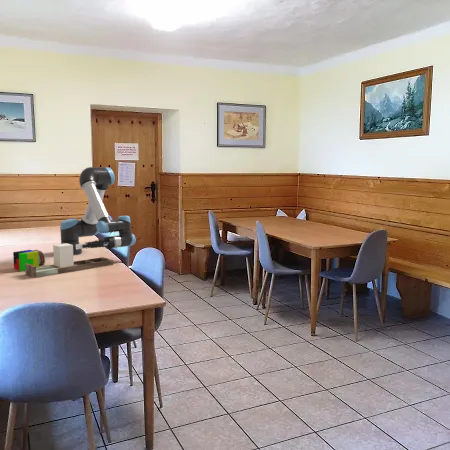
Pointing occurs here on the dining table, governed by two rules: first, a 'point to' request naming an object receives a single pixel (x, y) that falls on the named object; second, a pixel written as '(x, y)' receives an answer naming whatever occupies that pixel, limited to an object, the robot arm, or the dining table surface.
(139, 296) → the dining table surface
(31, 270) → the trap box
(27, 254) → the puzzle toy
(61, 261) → the block
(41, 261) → the tin
